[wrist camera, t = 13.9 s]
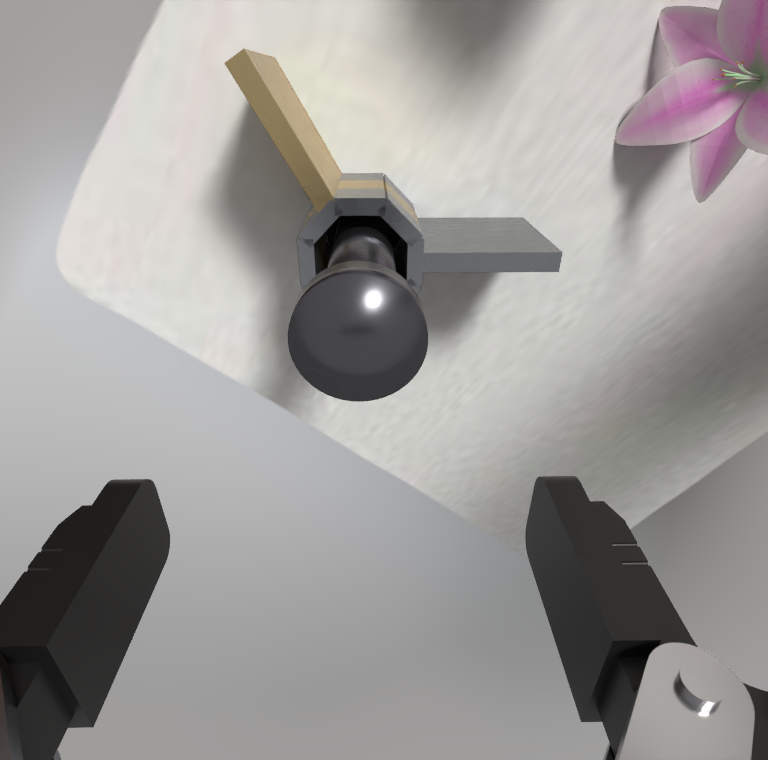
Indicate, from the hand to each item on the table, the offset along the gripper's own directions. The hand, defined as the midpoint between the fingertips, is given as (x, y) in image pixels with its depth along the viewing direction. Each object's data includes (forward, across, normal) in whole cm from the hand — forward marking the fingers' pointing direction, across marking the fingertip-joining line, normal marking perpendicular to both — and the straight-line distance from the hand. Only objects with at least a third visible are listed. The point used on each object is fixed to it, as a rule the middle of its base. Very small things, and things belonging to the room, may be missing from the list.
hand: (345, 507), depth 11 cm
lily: (+25, -18, -8) cm, 32 cm away
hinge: (+24, -2, -3) cm, 24 cm away
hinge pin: (+24, 0, 0) cm, 24 cm away
